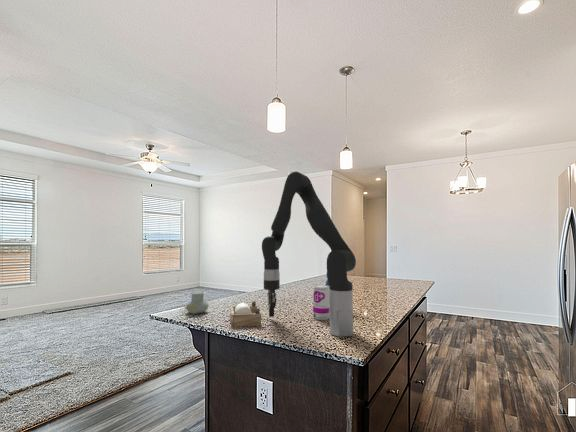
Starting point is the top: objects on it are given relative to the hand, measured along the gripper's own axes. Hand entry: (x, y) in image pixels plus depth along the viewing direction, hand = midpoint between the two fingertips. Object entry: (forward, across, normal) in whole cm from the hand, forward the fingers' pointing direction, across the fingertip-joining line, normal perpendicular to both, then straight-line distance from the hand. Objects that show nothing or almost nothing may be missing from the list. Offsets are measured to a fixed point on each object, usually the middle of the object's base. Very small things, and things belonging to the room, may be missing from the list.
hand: (271, 316), depth 146 cm
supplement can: (+2, -2, -24) cm, 24 cm away
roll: (-2, 0, +13) cm, 13 cm away
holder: (+2, 0, +12) cm, 12 cm away
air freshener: (+2, +22, +35) cm, 42 cm away
